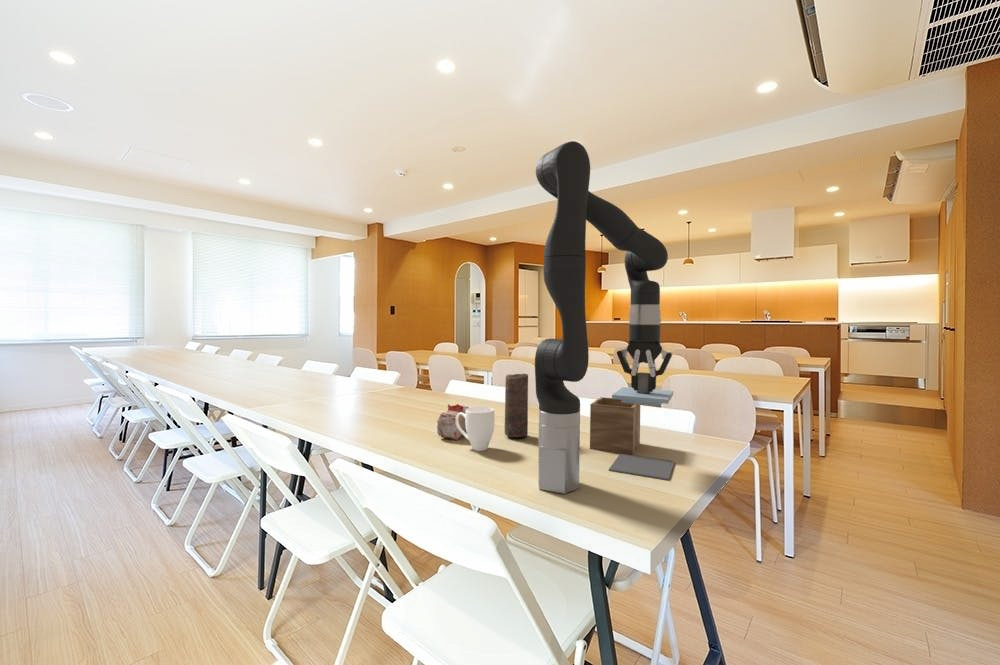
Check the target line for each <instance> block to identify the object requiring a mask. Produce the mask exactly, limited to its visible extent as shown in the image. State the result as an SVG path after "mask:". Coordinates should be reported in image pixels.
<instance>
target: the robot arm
mask: <svg viewBox="0 0 1000 665" xmlns="http://www.w3.org/2000/svg"><path fill="white" fill-rule="evenodd" d="M535 176H536V180H537V181H538V183H539V185H540V186H541V187H542V189H544V190H545V191H546V192H547V193H548V194H550V195H551V196H552V197H554V198H555V199H556V200H557V204H556V211H555V214H554V218H553V221H552V224H551V227H550V230H549V232H548V235H547V238H546V240H545V245H544V247H543V248H544V249H543V280H544V285H545V287H546V290H547V291H548V294H549V296H550V297H551V299H552V302H553V303H554V304H555V307H556V308H557V310H558V313H559V317H560V322H561V329H562V330H561V331H562V338H545V339H543V340H542V341H540V343H539V344H538V346H537V348H536V351H535V356H534V376H535V377H534V380H535V396H536V398H537V402H538V489H539V490H542V491H547V492H554V493H557V494H563V495H566V494H567V493H570V492H573V491H576V490H578V489H579V488H580V459H581V458H580V455H581V454H580V451H581V450H580V448H581V446H580V445H581V444H580V441H581V440H580V439H581V437H580V436H581V430H580V429H581V400H580V398H579V397H578V395H575V394H574V393H573V392H571V391H570V390H569V389H568V387H567V386H566V385H565V383H564V382H570V383H571V382H572V383H574V382H575V383H577V382H580V381H582V380H583V379H584V378H585V376H586V375H587V371H588V367H589V356H590V355H589V354H590V353H589V341H588V330H587V328H588V327H587V320H586V315H587V314H586V275H587V274H586V270H587V269H586V268H587V267H586V266H587V264H586V262H587V260H586V258H587V256H586V255H587V254H586V251H587V250H586V235H587V234H586V230H587V229H586V228H587V222H588V223H589V224H591V226H593V227H594V229H596V230H597V231H598V232H599V233H600V234H601V235H602V236H603V237H605V239H606V240H607V241H608V242H609V243H610V244H611V245H612V246H614V248H615V249H617V250H619V251H622V252H626V253H625V256H624V269H625V272H626V275H627V280H628V284H629V287H630V308H629V314H628V345H627V346H626V348H624V349H620V350H618V351H617V352H616V355H617V357H618V358H617V359H618V360H619V362H620V365H621V367H622V369H623V372H624V373H625V374H629V375H630V376H631V377H630V378H631V379H630V380H631V381H630V384H631V386H630V388H634V390H635V391H637V373H639V368H640V364H642V363H645V364H647V365H648V370H649V373H650V377H649V392H653V390H656V388H657V377H658V376H662V375H663V374H664V373H665V371H666V369H667V367H668V365H669V363H670V361H671V359H672V357H673V352H672V351H666V350H664V349H663V347H662V345H661V322H662V318H661V315H662V314H661V306H660V304H661V302H660V301H661V287H660V286H661V285H660V284H659V283H658V282H657V281H653V280H650V279H649V277H648V272H653V271H658V270H661V269H662V268H664V267H665V266H666V264H667V262H668V260H669V254H668V249H667V248H666V246H665V245H664V244H663V242H662V241H661V240H659V239H658V238H657V237H656V236H654V235H652V234H650V233H649V232H647V231H646V230H644V229H642V228H640V227H638V226H637V224H636V223H635V222H634V220H632V219H631V218H630V217H629V216H628V215H627V213H625V212H624V210H622V209H621V208H620V207H618V206H617V205H615V204H614V203H612V202H610V201H608V200H606V199H604V198H601V197H600V196H597V195H596V194H594V193H593V192H591V191H589V190H590V189H589V187H590V179H591V178H590V177H591V161H590V156H589V153H588V152H587V149H586V148H585V146H584V145H583V144H581V142H579V141H572V140H571V141H568V142H565V143H562V144H561V145H558V146H557V147H555V148H554V149H551V150H550V151H548V152H546V153H545V154H543V156H541V157H540V158H539V159H538V160H537V163H536V165H535ZM628 354H629V356H630V357H631V358H632V359H633V360H632V366H631V367H632V368H631V367H630V364H629V362H628V360H627V357H628ZM660 355H661V359H662V360H663V361H662V363H661V365H660V366H659V369H657V368H656V366H657V365H656V359H657V358H658V357H659V356H660Z"/></svg>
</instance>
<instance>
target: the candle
mask: <svg viewBox="0 0 1000 665" xmlns="http://www.w3.org/2000/svg"><path fill="white" fill-rule="evenodd" d="M504 392H505V395H504V396H505V398H504V400H505V401H504V402H505V403H504V435H505V436H507V437H508V438H522V437H526V436H528V430H529V426H528V425H529V424H528V423H529V422H528V420H529V415H528V414H529V408H528V407H529V374H528V373H515V374H507V375H506V376H505V391H504Z"/></svg>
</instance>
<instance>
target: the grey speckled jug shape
mask: <svg viewBox="0 0 1000 665" xmlns="http://www.w3.org/2000/svg"><path fill="white" fill-rule="evenodd" d="M468 408H470V407H469V406H466V405H460V404H459V403H458V404H455V405H450V404H448V405H447V410H446V411H444V412H441V414H440V415H439V417H438V419H437V420H436V423H437V426H436V430H437V435H438V436H439V437H440V438H442V439H445V440H452V441H453V440H454V441H458V440H459V439H461V437H462V436H464V435H463V434H462V433H461V432H460V431H459V430H458V428H457V426H456V423H455V418H456V416H457V414H458V413H460V412H462V413H464V414H466V409H468ZM458 421H459V425H460V427H461V428H462V430H463V431H464V432H465V433H466V434H467V431H466V425H465V418H464V417H463V416H462V415H459V418H458Z"/></svg>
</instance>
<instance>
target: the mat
mask: <svg viewBox="0 0 1000 665" xmlns="http://www.w3.org/2000/svg"><path fill="white" fill-rule="evenodd" d="M674 465H675V460H668V459H663V458H656V457H649V456H641V455H640V456H639V455H635V454H633V455H631V454H624V453H618V456H617V457H616V459H615V460H614V461H613V463H612V464H611V466H610V467H608V471H610V472H616V473H621V474H626V475H627V474H628V475H633V476H639V477H645V478H650V479H657V480H664V481H669V480H670V478H671V475H672V472H673V469H674Z"/></svg>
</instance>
